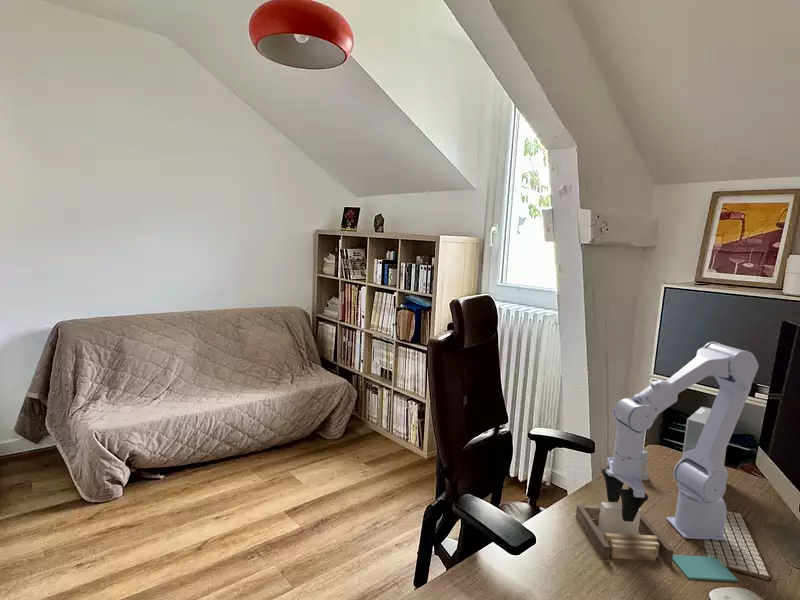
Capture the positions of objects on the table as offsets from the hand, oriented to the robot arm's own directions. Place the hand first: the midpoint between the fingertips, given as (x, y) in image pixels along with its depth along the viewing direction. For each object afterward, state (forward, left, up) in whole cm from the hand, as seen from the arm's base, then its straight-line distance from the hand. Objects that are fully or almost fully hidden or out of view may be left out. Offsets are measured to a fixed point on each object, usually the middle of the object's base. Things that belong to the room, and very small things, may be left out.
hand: (620, 510), depth 112 cm
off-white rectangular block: (0, 0, -6) cm, 6 cm away
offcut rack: (0, 0, -6) cm, 6 cm away
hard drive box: (-35, -27, -6) cm, 44 cm away
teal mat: (-13, +10, -6) cm, 18 cm away
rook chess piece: (-19, -29, -6) cm, 35 cm away
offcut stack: (0, +7, -6) cm, 9 cm away
